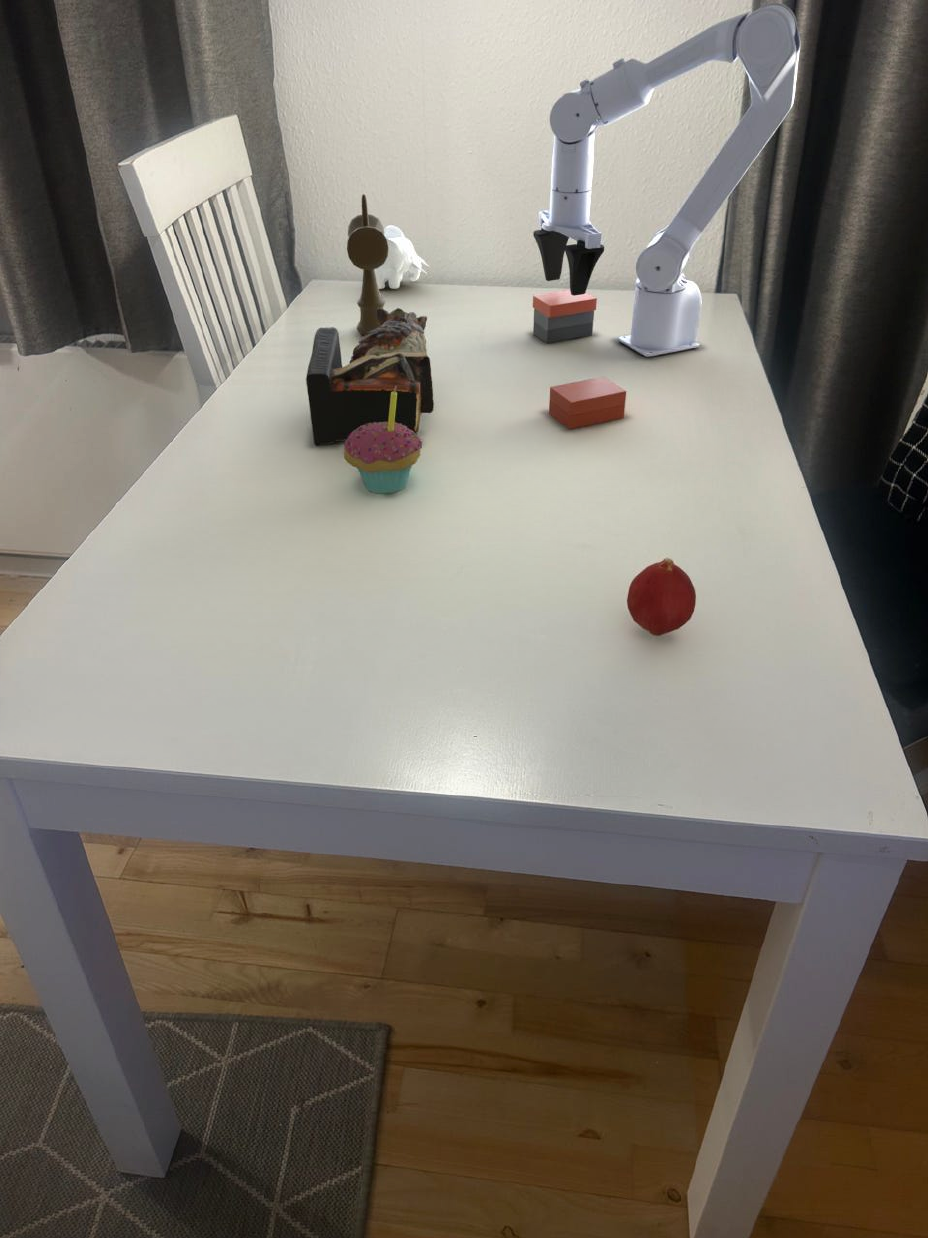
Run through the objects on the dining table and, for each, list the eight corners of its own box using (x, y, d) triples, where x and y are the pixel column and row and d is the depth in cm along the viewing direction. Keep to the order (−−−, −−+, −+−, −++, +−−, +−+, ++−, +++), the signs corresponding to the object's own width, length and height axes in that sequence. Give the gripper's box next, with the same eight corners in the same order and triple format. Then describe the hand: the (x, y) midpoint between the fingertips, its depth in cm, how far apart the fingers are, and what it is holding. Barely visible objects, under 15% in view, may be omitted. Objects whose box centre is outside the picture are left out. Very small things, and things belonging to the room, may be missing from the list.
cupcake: (433, 473, 105) (430, 373, 98) (405, 508, 99) (400, 404, 92) (365, 462, 107) (357, 363, 100) (334, 496, 101) (323, 393, 94)
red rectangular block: (601, 402, 121) (602, 389, 120) (623, 417, 117) (625, 404, 116) (548, 413, 118) (549, 400, 117) (569, 429, 114) (570, 416, 113)
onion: (617, 615, 83) (625, 540, 78) (679, 611, 83) (691, 537, 79) (631, 655, 78) (641, 578, 74) (697, 651, 79) (711, 575, 74)
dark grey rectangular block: (577, 326, 144) (578, 313, 143) (592, 335, 141) (593, 322, 140) (532, 334, 141) (533, 321, 140) (547, 343, 138) (547, 330, 137)
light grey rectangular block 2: (578, 313, 143) (579, 300, 142) (593, 322, 140) (594, 309, 138) (533, 321, 140) (533, 308, 139) (547, 330, 137) (548, 316, 136)
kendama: (354, 343, 139) (342, 202, 126) (353, 322, 146) (342, 187, 134) (393, 342, 139) (386, 201, 127) (390, 320, 147) (383, 185, 135)
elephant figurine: (426, 293, 158) (425, 239, 152) (357, 292, 158) (353, 238, 153) (431, 276, 165) (429, 224, 160) (365, 275, 166) (362, 224, 161)
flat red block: (577, 299, 142) (578, 287, 141) (596, 310, 138) (597, 298, 137) (532, 307, 139) (532, 295, 138) (549, 317, 135) (550, 305, 134)
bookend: (302, 379, 105) (318, 288, 123) (316, 459, 112) (329, 362, 130) (431, 372, 105) (427, 282, 123) (436, 453, 112) (432, 357, 131)
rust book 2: (602, 389, 120) (603, 376, 119) (625, 404, 116) (626, 391, 115) (549, 400, 117) (550, 386, 116) (570, 416, 113) (571, 402, 112)
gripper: (521, 181, 132) (518, 276, 141) (572, 202, 122) (566, 304, 130) (564, 176, 135) (558, 270, 143) (617, 197, 124) (608, 297, 132)
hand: (565, 286), depth 137 cm, fingers open, 7 cm apart
